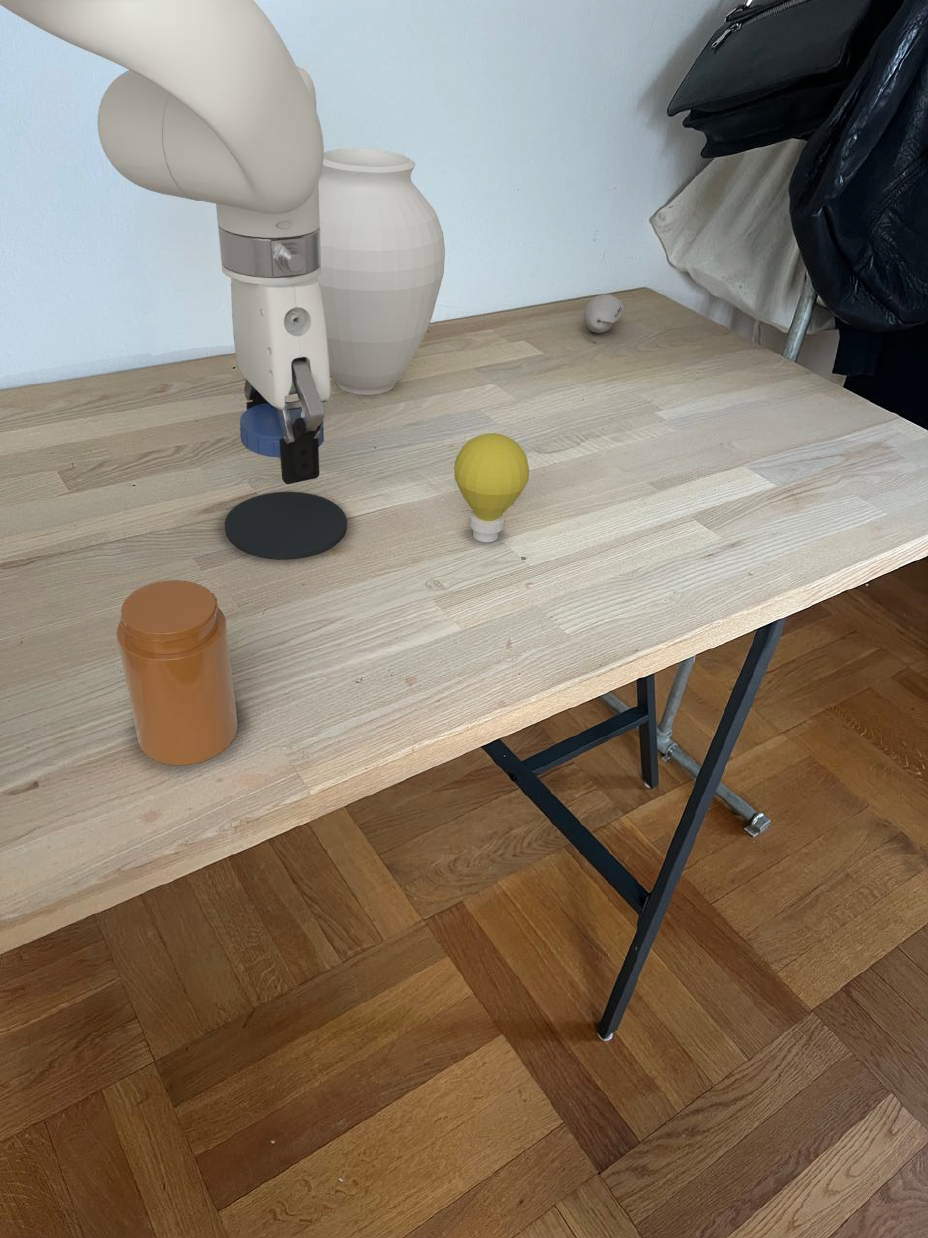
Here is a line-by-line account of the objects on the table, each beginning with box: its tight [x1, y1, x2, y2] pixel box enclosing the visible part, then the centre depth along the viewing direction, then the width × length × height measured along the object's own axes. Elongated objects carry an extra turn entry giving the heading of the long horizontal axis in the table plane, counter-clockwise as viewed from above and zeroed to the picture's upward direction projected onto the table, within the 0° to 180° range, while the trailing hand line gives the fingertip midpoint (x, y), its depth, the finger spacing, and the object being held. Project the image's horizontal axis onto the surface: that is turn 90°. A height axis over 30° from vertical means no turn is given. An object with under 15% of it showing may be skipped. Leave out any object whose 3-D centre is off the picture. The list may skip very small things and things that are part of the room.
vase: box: [316, 147, 446, 396], centre depth 105 cm, size 18×18×25 cm
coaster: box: [224, 491, 348, 560], centre depth 85 cm, size 11×11×1 cm
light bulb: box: [453, 432, 530, 543], centre depth 83 cm, size 7×7×10 cm
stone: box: [583, 293, 625, 334], centre depth 131 cm, size 10×5×5 cm, turn 165°
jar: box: [116, 579, 239, 766], centre depth 60 cm, size 7×7×11 cm
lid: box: [239, 401, 325, 458], centre depth 79 cm, size 7×7×2 cm
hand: (283, 458), depth 81 cm, fingers closed on lid, 7 cm apart
